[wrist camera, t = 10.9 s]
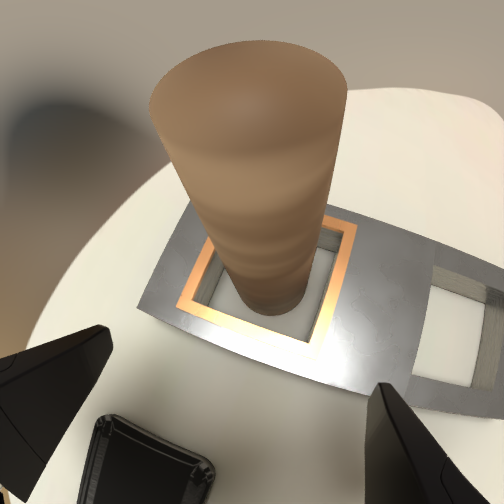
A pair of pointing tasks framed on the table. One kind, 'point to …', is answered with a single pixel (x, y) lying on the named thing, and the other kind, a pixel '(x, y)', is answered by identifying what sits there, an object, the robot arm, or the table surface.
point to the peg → (256, 157)
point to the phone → (140, 468)
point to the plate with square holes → (348, 310)
